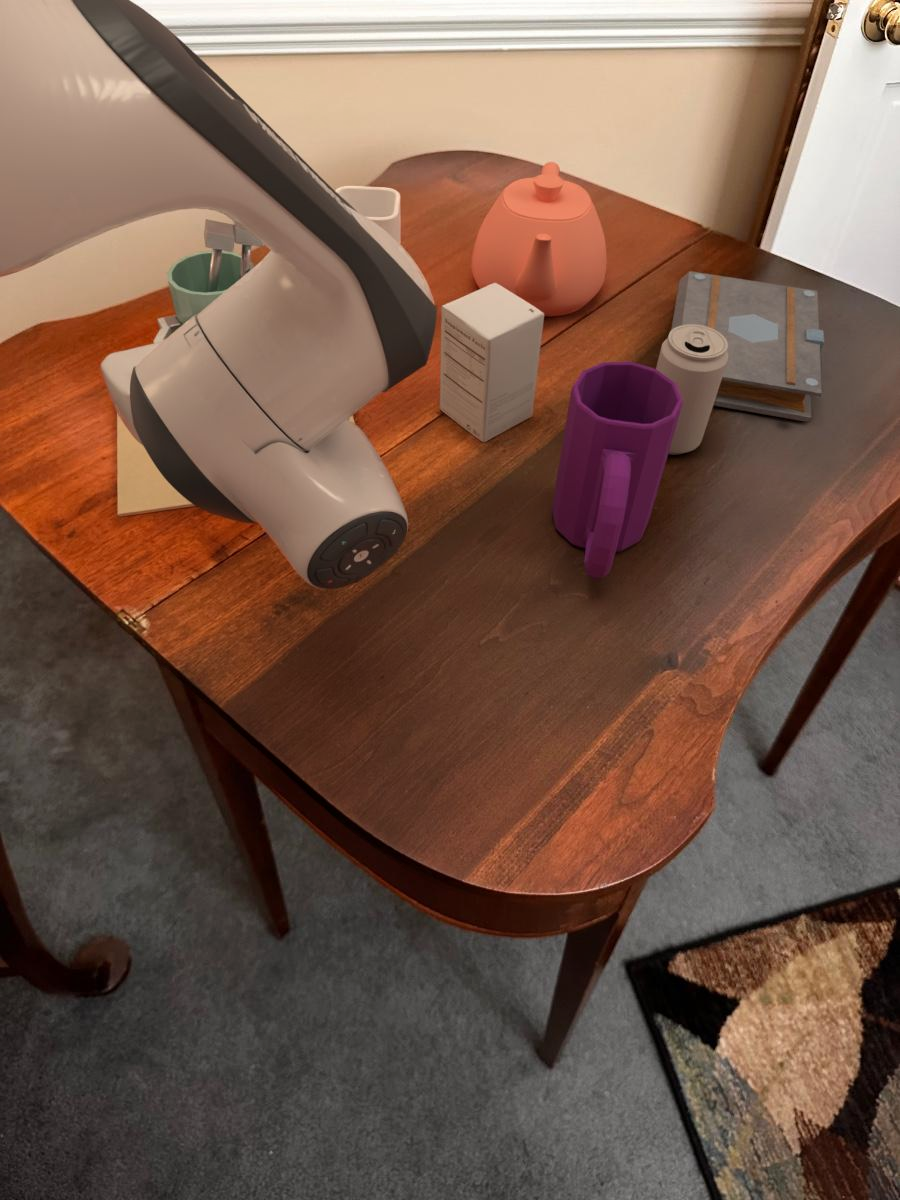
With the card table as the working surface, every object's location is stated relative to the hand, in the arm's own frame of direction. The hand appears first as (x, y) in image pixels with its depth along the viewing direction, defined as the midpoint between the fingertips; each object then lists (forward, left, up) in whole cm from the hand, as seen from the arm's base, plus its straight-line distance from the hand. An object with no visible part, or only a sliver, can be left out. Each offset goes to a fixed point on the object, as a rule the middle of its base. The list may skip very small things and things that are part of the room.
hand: (216, 313), depth 70 cm
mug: (+31, -14, -19) cm, 39 cm away
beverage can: (+44, -1, -19) cm, 48 cm away
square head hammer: (-1, -1, -1) cm, 2 cm away
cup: (+17, +26, -19) cm, 36 cm away
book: (+57, +11, -19) cm, 62 cm away
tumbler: (0, -1, -5) cm, 5 cm away
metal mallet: (+2, -1, -1) cm, 2 cm away
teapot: (+39, +30, -19) cm, 53 cm away
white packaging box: (+26, +7, -19) cm, 33 cm away
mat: (0, +8, -19) cm, 21 cm away
